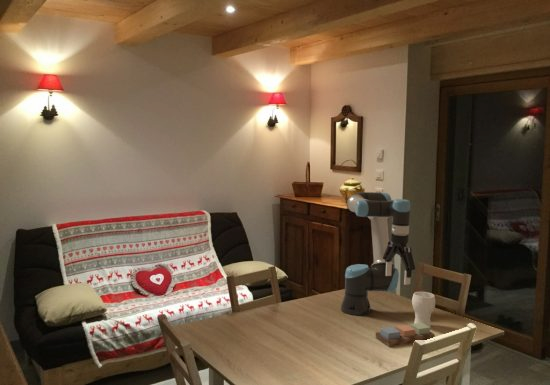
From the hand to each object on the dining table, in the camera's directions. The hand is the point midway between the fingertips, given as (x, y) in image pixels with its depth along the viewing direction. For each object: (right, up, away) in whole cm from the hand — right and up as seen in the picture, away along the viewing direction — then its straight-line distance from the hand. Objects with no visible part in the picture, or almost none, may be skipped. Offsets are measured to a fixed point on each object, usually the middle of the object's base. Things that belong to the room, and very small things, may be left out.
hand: (397, 279), depth 221 cm
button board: (+2, -25, -6) cm, 26 cm away
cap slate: (-5, -23, -9) cm, 25 cm away
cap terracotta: (+2, -23, -6) cm, 24 cm away
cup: (+15, -24, +11) cm, 30 cm away
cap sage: (+9, -23, -3) cm, 25 cm away
